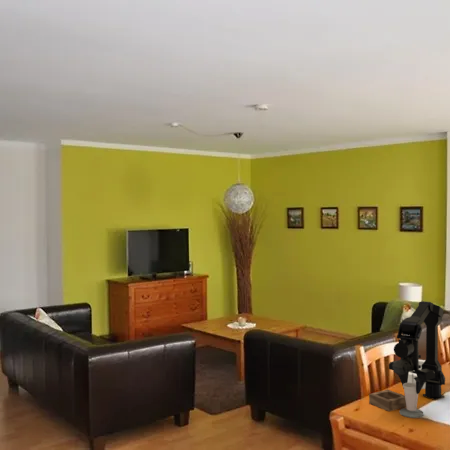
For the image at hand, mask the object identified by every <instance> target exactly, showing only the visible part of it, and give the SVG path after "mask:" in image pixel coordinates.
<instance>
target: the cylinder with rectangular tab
mask: <svg viewBox="0 0 450 450" xmlns="http://www.w3.org/2000/svg"><path fill="white" fill-rule="evenodd" d="M425 360H426V359H419V365H421V368H419V370H421V369H422V364H423V363H424V362H425ZM413 371H414V370H413ZM412 374H413V383H416V381H415V379H414V378H415V377H417V374H415V373H412V372H409V374H408V382H407V383H412ZM425 386H426V382H425V383H424V385H423V387H422V389H421V390H425Z"/></svg>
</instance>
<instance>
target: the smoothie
mask: <svg viewBox="0 0 450 450" xmlns="http://www.w3.org/2000/svg"><path fill="white" fill-rule="evenodd" d="M402 388H404V389H403V393H404V395H405V400H406V407H405V408H407V410H410V411H415V410H416V409H418V407H417V406H418V398H419V394H417V392H416V383H413V374H412V383H404V384H403V386H402Z"/></svg>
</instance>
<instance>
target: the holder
mask: <svg viewBox="0 0 450 450" xmlns="http://www.w3.org/2000/svg"><path fill="white" fill-rule="evenodd" d="M368 396H369V399H368V403H369V404H370V405H372V406H374V407H377V408H378V409H381V410H384V411H387V412H392V411H396V410H400V409H402V408H406V400H405V394H402V393H399V392H396V391H393V390H390V389H385V390H380V391H376V392H372V393H369V394H368Z"/></svg>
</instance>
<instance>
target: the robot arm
mask: <svg viewBox="0 0 450 450" xmlns="http://www.w3.org/2000/svg"><path fill="white" fill-rule="evenodd" d="M443 317H444V309H443V308H442V307H441V306H439V305H437V304H434V303H433V302H431V301H426V300H425V301H423V300H422V301H419V303H418V305H417V307H416V309H414V311H413V313H412V314H411V316H409V317H405V318H404V319H403V320H402V321H401V322H400V323H399V328H398V331H397V334H396V339H397V340H398V343H396V344H394V347H393V352H394V354H395V356H396V357H398V358H400V359H398V360H393V361H390V362H389V363H388V370H391V371H393V373H395V374H396V375H397V376H398V378H399V380H400V384H401V386H402V388H403V384H404V383H407V382H408V374H409V372H412V373H415V374H417V377H415V378H414V379H415V381H416V392H417V394H418V395H420V394H421V391H422V390H423V389H422V387H423V385H424V383H425V382H426V386H425V389H424V390H425V391H424V392H425V393H423V394H422V396H423V397H426V398H429V399H432V400H435V401H436V400H438V399H439V400H440V399H443V398H445V395H442V386H443V385H444V386H445V385H446V376H445V374H444V372H443V370H442V368H443V367H442V365H441V362H440V361H439V360H438V357H439V355H438V352H439V350H438V349H439V347H438V346H439V344H438V343H439V340H438V339H439V325H440V324H441V322H442V321H443ZM423 323H424V324H425V327H426V331H425V333H426V335H425V336H426V338H425V359H424V360H425V362H424V363H423V364H422V369H421V370H419V368H421V365H419V360H420V359H421V358H422V355H421V354H419V340H420V337H421V334H422V332H423V328H422V327H423V326H422V324H423ZM413 370H414V371H413ZM403 390H404V388H403Z"/></svg>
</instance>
